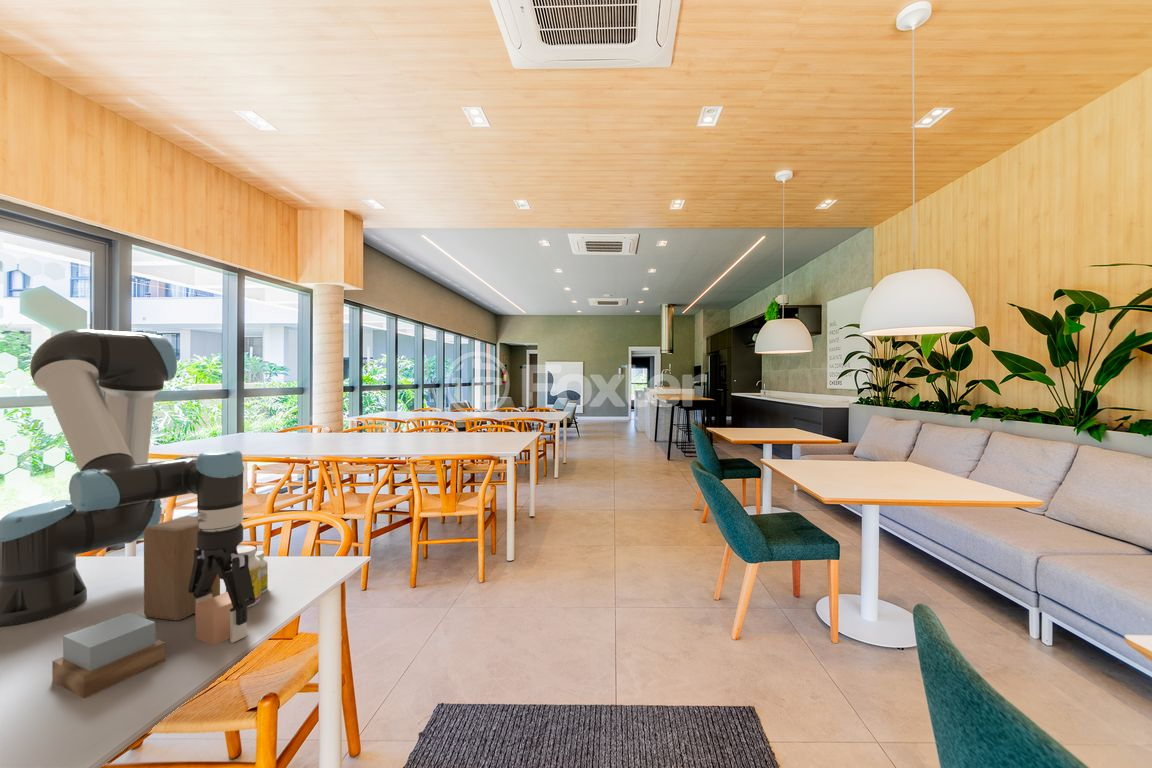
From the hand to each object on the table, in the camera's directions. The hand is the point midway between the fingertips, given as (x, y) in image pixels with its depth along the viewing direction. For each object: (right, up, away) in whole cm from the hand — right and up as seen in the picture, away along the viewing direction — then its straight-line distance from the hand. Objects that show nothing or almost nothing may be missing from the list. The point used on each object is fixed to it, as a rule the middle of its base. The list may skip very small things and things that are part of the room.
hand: (221, 633), depth 96 cm
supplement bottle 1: (-4, 0, +13) cm, 13 cm away
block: (-16, 0, +10) cm, 19 cm away
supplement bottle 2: (-6, 0, +19) cm, 20 cm away
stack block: (0, 0, 0) cm, 0 cm away
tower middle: (-11, +3, -12) cm, 16 cm away
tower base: (-11, -1, -12) cm, 16 cm away
